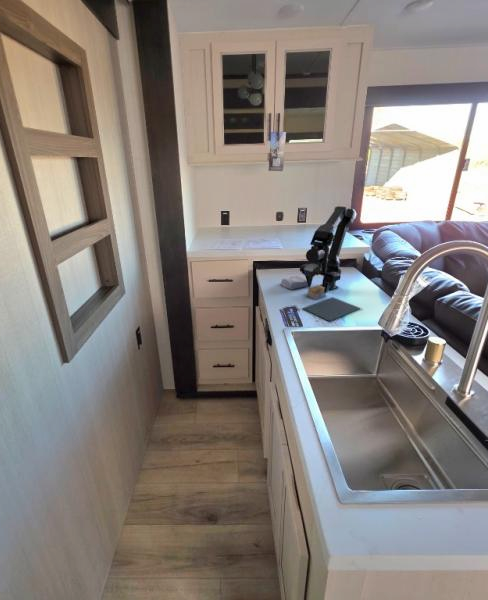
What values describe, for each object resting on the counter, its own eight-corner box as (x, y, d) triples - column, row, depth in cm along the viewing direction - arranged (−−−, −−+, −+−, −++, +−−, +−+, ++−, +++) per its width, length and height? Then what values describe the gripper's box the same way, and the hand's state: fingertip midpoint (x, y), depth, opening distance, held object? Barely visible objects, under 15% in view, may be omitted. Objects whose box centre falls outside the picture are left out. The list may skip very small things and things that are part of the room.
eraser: (317, 292, 150) (318, 285, 148) (325, 295, 146) (326, 287, 145) (307, 296, 146) (308, 288, 144) (315, 299, 142) (316, 291, 141)
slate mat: (332, 298, 144) (332, 297, 143) (360, 308, 133) (360, 308, 133) (302, 309, 133) (302, 308, 133) (329, 321, 123) (330, 320, 122)
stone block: (278, 287, 161) (291, 290, 152) (278, 278, 160) (291, 280, 151) (297, 284, 166) (310, 286, 157) (297, 275, 165) (310, 277, 156)
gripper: (292, 255, 141) (290, 287, 148) (326, 265, 127) (322, 300, 134) (309, 251, 147) (306, 282, 153) (343, 261, 133) (338, 294, 139)
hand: (317, 290), depth 145 cm, fingers open, 9 cm apart
